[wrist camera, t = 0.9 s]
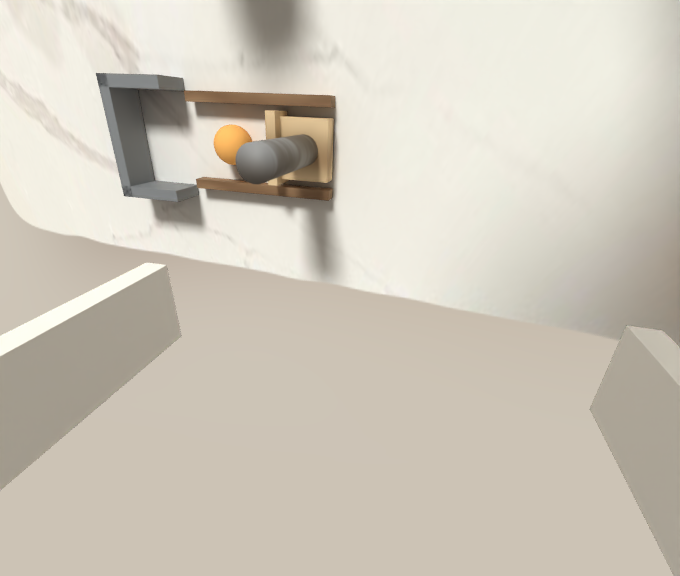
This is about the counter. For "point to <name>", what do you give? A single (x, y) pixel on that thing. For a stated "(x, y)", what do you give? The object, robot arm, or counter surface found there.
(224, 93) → the rails
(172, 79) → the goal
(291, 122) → the carriage
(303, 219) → the counter surface
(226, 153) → the ball
